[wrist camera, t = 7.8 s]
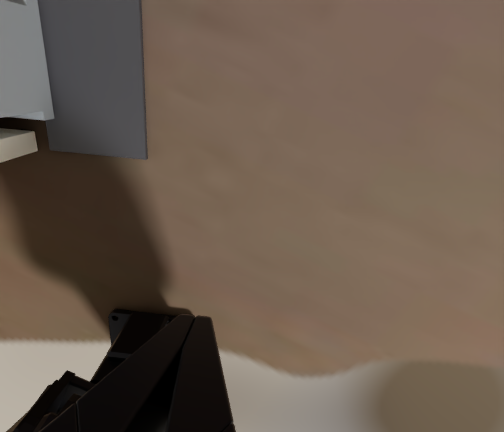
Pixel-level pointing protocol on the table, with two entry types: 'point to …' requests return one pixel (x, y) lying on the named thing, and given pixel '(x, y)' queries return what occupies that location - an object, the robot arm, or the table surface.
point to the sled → (23, 62)
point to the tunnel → (90, 80)
